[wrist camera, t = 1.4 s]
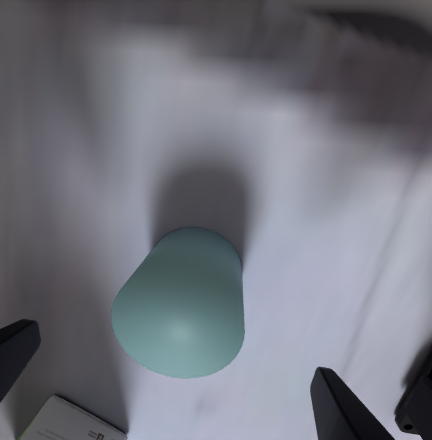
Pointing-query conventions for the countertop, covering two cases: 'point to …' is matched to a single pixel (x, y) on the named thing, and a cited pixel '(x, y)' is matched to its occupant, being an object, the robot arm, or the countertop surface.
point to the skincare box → (68, 424)
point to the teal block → (183, 306)
